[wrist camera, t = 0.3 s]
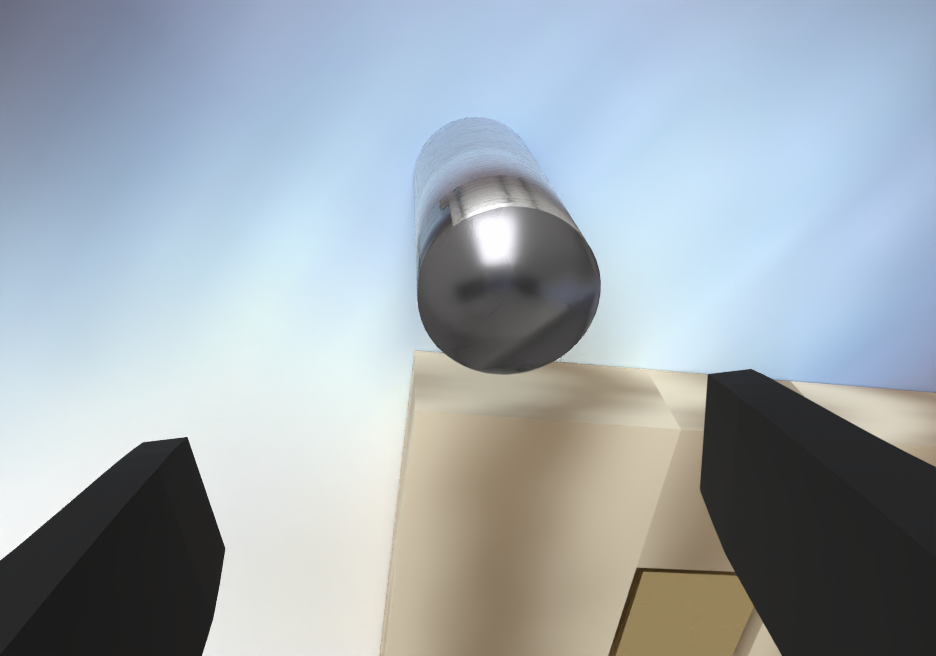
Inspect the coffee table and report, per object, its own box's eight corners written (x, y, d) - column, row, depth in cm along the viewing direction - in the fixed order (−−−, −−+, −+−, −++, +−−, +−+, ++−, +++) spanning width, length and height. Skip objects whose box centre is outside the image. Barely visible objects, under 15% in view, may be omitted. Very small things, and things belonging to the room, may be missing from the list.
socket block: (993, 397, 22) (1072, 457, 20) (831, 694, 28) (874, 770, 26) (414, 350, 20) (415, 410, 17) (376, 684, 26) (372, 765, 24)
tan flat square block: (754, 557, 22) (766, 577, 21) (719, 643, 24) (728, 664, 23) (635, 551, 21) (643, 571, 21) (607, 639, 23) (613, 661, 22)
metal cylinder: (543, 125, 17) (619, 217, 11) (523, 241, 19) (580, 381, 13) (420, 110, 17) (427, 196, 11) (408, 229, 18) (409, 367, 12)
